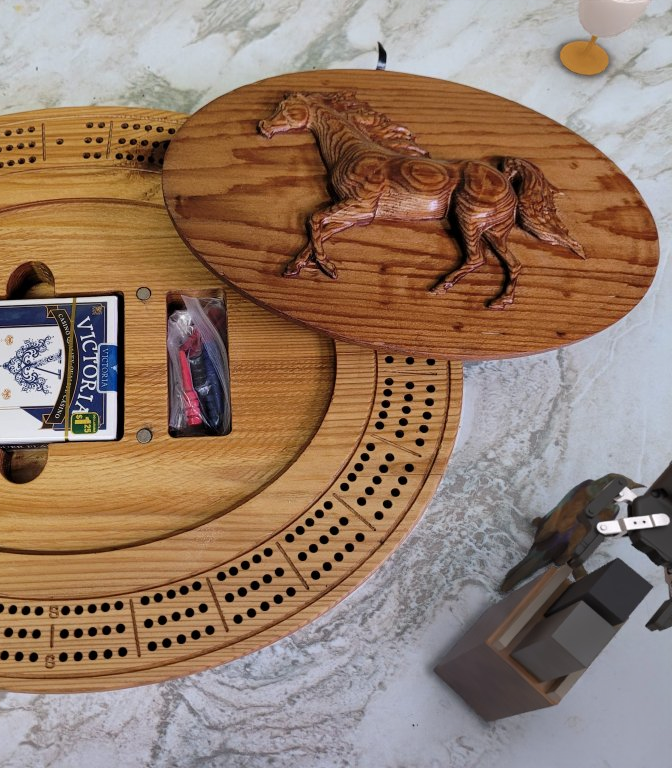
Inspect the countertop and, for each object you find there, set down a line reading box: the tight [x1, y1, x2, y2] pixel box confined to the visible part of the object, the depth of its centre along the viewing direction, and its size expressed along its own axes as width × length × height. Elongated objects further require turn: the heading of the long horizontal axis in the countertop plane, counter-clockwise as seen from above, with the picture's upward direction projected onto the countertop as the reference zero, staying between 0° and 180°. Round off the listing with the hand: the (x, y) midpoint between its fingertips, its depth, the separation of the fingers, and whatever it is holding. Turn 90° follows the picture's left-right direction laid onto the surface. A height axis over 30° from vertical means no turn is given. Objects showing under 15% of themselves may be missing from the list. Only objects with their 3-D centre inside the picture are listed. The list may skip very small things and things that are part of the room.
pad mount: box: [485, 563, 630, 707], centre depth 85 cm, size 9×12×13 cm
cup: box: [559, 0, 653, 76], centre depth 152 cm, size 12×12×17 cm
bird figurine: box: [498, 472, 648, 594], centre depth 112 cm, size 13×10×20 cm
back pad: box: [543, 557, 654, 626], centre depth 85 cm, size 4×5×12 cm
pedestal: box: [432, 568, 554, 723], centre depth 101 cm, size 9×12×23 cm
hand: (613, 595), depth 81 cm, fingers open, 8 cm apart
